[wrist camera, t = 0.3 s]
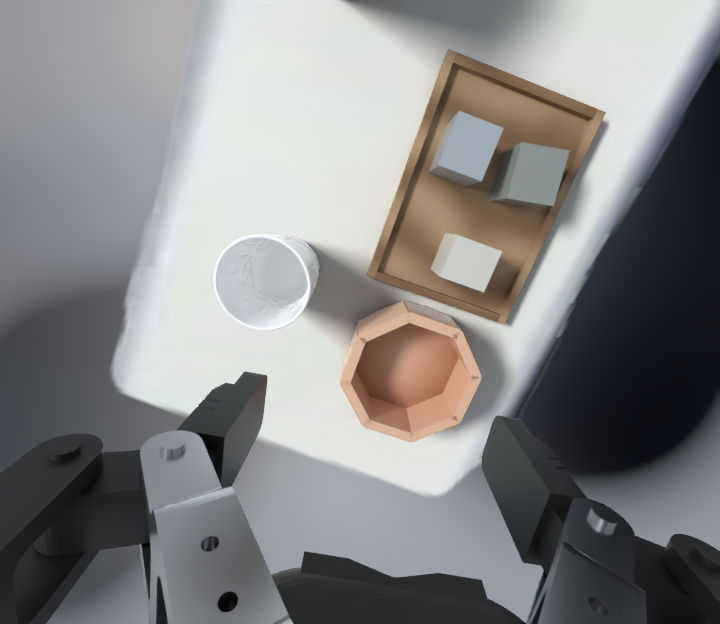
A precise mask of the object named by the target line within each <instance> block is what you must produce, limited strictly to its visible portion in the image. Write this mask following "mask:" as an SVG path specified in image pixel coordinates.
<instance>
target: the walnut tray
mask: <svg viewBox="0 0 720 624" xmlns="http://www.w3.org/2000/svg"><path fill="white" fill-rule="evenodd" d="M458 111H461V112H464V113H466V114H469V115H472V116H474V117H477V118H479V119H482V120H484V121H487V122H490V123H492V124H495V125H497V126H500V127H502V128H504V129H503V131H502V134H501V136H500V138H499V141H498V143H497V146H496V148H495V150H494V153H493V155H492V158H491V160H490V163H489V165H488V167H487V170H486V172H485V175H484V177H483V179H482V182H478V183H475V184H472V185H469V186H466V187H465V186H463V185H460V184H458V183H455V182H452V181H450V180H447V179H444V178H442V177H439V176H436V175H434V174H431V173H429V170H430V167H431V165H432V162H433V159H434V157H435V154H436V151H437V149H438V146H439V143H440V141H441V138H442V135H443V133H444V130H445V127H446V125H447V124H448V123H449V122H450V121H451V120H452V118H453V117H454V116H455V115H456V114H457V112H458ZM605 113H606V112H604V111H601V110H599V109H596V108H594V107H591V106H589V105H586V104H584V103H581V102H579V101H576V100H574V99H571V98H569V97H566V96H564V95H561V94H559V93H556V92H554V91H551V90H549V89H546V88H544V87H541V86H539V85H536V84H534V83H531V82H529V81H526V80H524V79H521V78H519V77H517V76H514V75H512V74H509V73H507V72H504V71H502V70H499V69H497V68H494V67H492V66H489V65H487V64H484V63H482V62H479V61H477V60H474V59H472V58H469V57H467V56H464V55H462V54H459V53H457V52H454V51H452V50H449V49H448V51H447V53H446V55H445V58H444V61H443V64H442V66H441V69H440V72H439V75H438V78H437V80H436V83H435V86H434V89H433V91H432V94H431V97H430V100H429V103H428V105H427V108H426V111H425V114H424V117H423V119H422V122H421V125H420V128H419V131H418V133H417V136H416V139H415V142H414V145H413V147H412V150H411V153H410V156H409V159H408V161H407V164H406V167H405V170H404V172H403V175H402V178H401V181H400V184H399V186H398V189H397V192H396V195H395V198H394V200H393V203H392V206H391V209H390V212H389V214H388V217H387V220H386V223H385V226H384V228H383V231H382V234H381V237H380V239H379V242H378V245H377V248H376V251H375V253H374V256H373V259H372V262H371V265H370V267H369V270H368V273H367V276H368V277H371V278H374V279H377V280H380V281H382V282H385V283H388V284H391V285H394V286H397V287H399V288H402V289H405V290H408V291H411V292H414V293H416V294H419V295H422V296H425V297H428V298H431V299H433V300H436V301H439V302H442V303H445V304H448V305H451V306H453V307H456V308H459V309H462V310H465V311H468V312H470V313H473V314H476V315H479V316H482V317H485V318H487V319H490V320H493V321H496V322H499V323H502V324H505V322H506V320H507V318H508V316H509V314H510V312H511V310H512V307H513V305H514V303H515V301H516V299H517V297H518V295H519V293H520V291H521V289H522V287H523V285H524V282H525V280H526V278H527V276H528V274H529V272H530V270H531V268H532V266H533V264H534V262H535V259H536V257H537V255H538V253H539V251H540V249H541V247H542V245H543V243H544V241H545V239H546V236H547V234H548V232H549V230H550V228H551V226H552V224H553V222H554V220H555V218H556V216H557V214H558V211H559V209H560V207H561V205H562V203H563V201H564V199H565V197H566V195H567V193H568V191H569V188H570V186H571V184H572V182H573V180H574V178H575V176H576V174H577V172H578V170H579V168H580V165H581V163H582V161H583V159H584V157H585V155H586V153H587V151H588V149H589V147H590V145H591V142H592V140H593V138H594V136H595V134H596V132H597V130H598V128H599V126H600V124H601V122H602V120H603V117H604V115H605ZM521 142H524V143H530V144H535V145H541V146H547V147H552V148H558V149H564V150H569V151H570V152H569V155H568V159H567V162H566V165H565V169H564V172H563V176H562V179H561V183H560V186H559V189H558V193H557V196H556V200H555V203H554V206H550V207H536V208H529V207H524V206H518V205H512V204H506V203H500V202H494V201H490V200H491V196H492V192H493V188H494V184H495V180H496V176H497V172H498V168H499V164H500V160H501V156H502V152H503V151H505V150H507V149H509V148H511V147H513V146H515V145H517V144H519V143H521ZM445 233H450V234H456V235H459V236H462V237H465V238H467V239H470V240H473V241H476V242H478V243H481V244H484V245H487V246H489V247H492V248H495V249H498V250H500V251H502V254H501V256H500V258H499V260H498V262H497V265H496V267H495V269H494V271H493V273H492V276H491V278H490V280H489V282H488V285H487V287H486V289H485V291H484V292H481V291H478V290H476V289H473V288H470V287H467V286H464V285H462V284H459V283H456V282H453V281H450V280H448V279H445V278H442V277H439V276H438V275H437V274H436V273H434V272H433V271H432V270H431V267H432V264H433V262H434V259H435V257H436V254H437V252H438V249H439V247H440V244H441V242H442V239H443V237H444V234H445Z"/></svg>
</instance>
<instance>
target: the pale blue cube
mask: <svg viewBox="0 0 720 624" xmlns="http://www.w3.org/2000/svg"><path fill="white" fill-rule="evenodd" d="M503 129H504V128H502V127H500V126H497V125H495V124H492V123H490V122H487V121H484V120H482V119H479V118H477V117H474V116H472V115H469V114H466V113H464V112H461V111H458V112H457V114H456V115H455V116H454V117H453V118H452V120H451V121H450V122H449V123H448V124H447V125H446V127H445V130H444V133H443V135H442V138H441V141H440V143H439V146H438V149H437V151H436V154H435V157H434V159H433V162H432V165H431V167H430V170H429V173H431V174H434V175H436V176H439V177H442V178H444V179H447V180H450V181H452V182H455V183H458V184H460V185H463V186H465V187H466V186H469V185H472V184H475V183H478V182H482V179H483V177H484V175H485V172H486V170H487V167H488V165H489V163H490V160H491V158H492V155H493V153H494V150H495V148H496V146H497V143H498V141H499V138H500V136H501V134H502V131H503Z"/></svg>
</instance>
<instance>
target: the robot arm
mask: <svg viewBox="0 0 720 624" xmlns="http://www.w3.org/2000/svg"><path fill="white" fill-rule="evenodd" d="M266 387H267V376H266V375H262V374H256V373H250V372H244V373H243V374H242V375H241V377H240V378H239V379H238V380H237V382H236V383H235V384H228V383H225V384H223V385H221V386H219V387H217V388H215V389H213V390H212V391H211V392H210V393H209V394H208V395H207V397H206V398H205V400H203V401H202V402H201V403H200V404H199V406H198V407H197V408H196V409H195V410H194V411H193V412H192V413H191V414H190V416H189V417H188V418H187V419H186V420H185V421H184V422H183V423H182V424H181V426H180V427H179V428H178V429H177V430H176V431H170V432H165V433H162V434H159V435H157V436H154V437H152V438H151V439H149V440H148V441H147V442H146V443H145V444H144V445H143V446H142V448H141V450H136V451H122V452H105V453H103V443H102V441H101V440H100V439H99V438H98V437H96V436H93V435H90V434H69V435H64V436H60V437H56V438H53V439H50V440H48V441H45V442H43V443H41V444H39V445H38V446H36V447H35V448H33V449H32V450H30V451H29V452H28V453H26V454H25V455H24V456H22V457H21V458H20V459H19V460H17V461H16V462H15V463H13V464H12V465H11V466H9V467H8V468H7V469H5V470H4V471H3V472H1V473H0V624H46V623H47V622H48V620H49V619H50V618H51V616H52V615H53V613H54V612H55V611H56V609H57V608H58V607H59V605H60V604H61V602H62V601H63V600H64V598H65V597H66V596H67V594H68V593H69V592H70V590H71V589H72V587H73V586H74V585H75V583H76V582H77V581H78V579H79V578H80V577H81V575H82V574H83V572H84V571H85V570H86V568H87V567H88V565H89V564H90V563H91V561H92V560H93V559H94V557H95V556H96V554H97V553H98V552H99V550H101V549H109V548H117V547H124V546H131V545H138V544H140V554H141V561H142V570H143V578H144V585H145V594H146V602H147V610H148V620H149V624H720V551H718V550H717V549H715V548H714V547H712V546H710V545H709V544H707V543H705V542H703V541H701V540H699V539H697V538H694V537H691V536H688V535H684V534H675V535H673V536H672V537H671V538H670V540H669V542H668V544H667V546H666V548H665V547H663V546H660V545H658V544H655V543H652V542H650V541H647V540H645V539H642V538H639V537H637V536H635V534H634V531H633V529H632V528H631V526H630V525H629V524H628V522H627V521H626V520H625V519H624V518H623V517H622V516H620V515H619V514H618V513H617V512H615V511H614V510H612V509H611V508H609V507H608V506H606V505H604V504H602V503H600V502H598V501H595V500H592V499H589V498H587V497H586V496H585V495H584V493H583V492H582V491H581V489H580V488H579V487H578V485H577V484H576V483H575V481H574V480H573V479H572V478H571V476H570V475H569V474H568V473H567V471H566V470H564V467H563V466H562V465H561V463H560V462H559V461H557V458H556V457H555V455H554V454H553V453H552V451H551V450H550V449H549V448H548V447H547V446H546V445H545V444H544V443H542V442H541V441H540V440H539V439H537V438H536V437H535V436H533V435H532V434H531V433H530V431H529V430H528V429H527V427H526V426H525V425H524V423H523V422H522V421H521V420H520V419H515V418H509V417H504V416H496V417H495V419H494V420H493V423H492V426H491V429H490V433H489V436H488V439H487V442H486V445H485V448H484V451H483V456H482V468H483V472H484V475H485V477H486V479H487V482H488V484H489V486H490V489H491V491H492V493H493V495H494V498H495V500H496V502H497V504H498V507H499V509H500V511H501V513H502V516H503V518H504V520H505V523H506V525H507V527H508V530H509V532H510V534H511V536H512V539H513V541H514V543H515V545H516V548H517V550H518V552H519V555H520V557H521V559H522V561H523V563H529V564H535V565H541V566H542V568H543V570H544V571H543V573H542V576H541V578H540V580H539V583H538V587H537V590H536V593H535V596H534V599H533V603H532V606H531V609H530V612H529V615H528V619H527V622H526V623H525V622H523V621H522V620H521V619H520V618H518V617H517V616H516V615H515V614H513V613H512V612H510V611H509V610H507V609H506V608H504V607H503V606H501V605H499V604H497V603H495V602H494V601H492V600H489V599H487V596H486V593H485V590H484V586H483V583H482V580H478V579H471V578H466V577H460V576H453V575H447V574H441V573H435V574H426V575H417V576H408V577H399V578H396V577H391V576H388V575H386V574H383V573H381V572H379V571H376V570H374V569H371V568H369V567H367V566H365V565H362V564H360V563H358V562H355V561H353V560H351V559H348V558H341V557H336V556H330V555H324V554H317V553H311V552H304V557H303V562H302V567H301V568H293V569H289V570H284V571H281V572H278V573H275V574H273V575H271V574H270V571H269V569H268V567H267V564H266V562H265V560H264V558H263V555H262V553H261V551H260V548H259V546H258V544H257V542H256V539H255V537H254V535H253V532H252V530H251V528H250V525H249V523H248V521H247V518H246V516H245V514H244V512H243V510H242V507H241V505H240V502H239V500H238V498H237V496H236V493H235V491H234V489H233V488H232V487H231V486H232V484H233V482H234V480H235V478H236V477H237V475H238V472H239V470H240V469H241V467H242V465H243V463H244V461H245V459H246V457H247V455H248V453H249V451H250V449H251V447H252V445H253V443H254V441H255V439H256V437H257V435H258V433H259V431H260V428H261V424H262V420H263V413H264V404H265V396H266Z"/></svg>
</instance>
